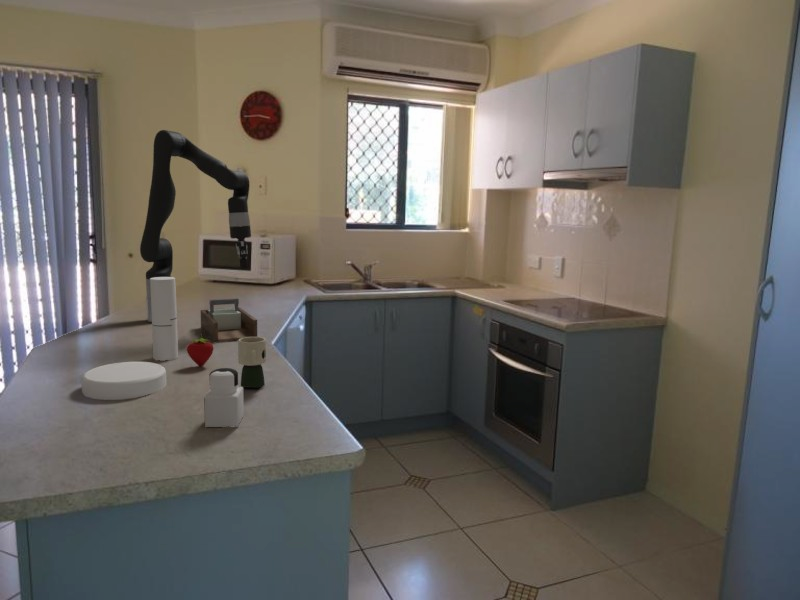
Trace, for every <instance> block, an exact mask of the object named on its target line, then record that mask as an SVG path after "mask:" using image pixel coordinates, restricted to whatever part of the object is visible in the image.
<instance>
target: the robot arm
mask: <svg viewBox="0 0 800 600" xmlns="http://www.w3.org/2000/svg"><path fill="white" fill-rule="evenodd" d="M154 136H155V137H154V138H153V139H154V140H153V156H152V157H153V158H152V161H153V162H152V174H151V184H150V189H149V197H148V205H147V212H146V213H147V214H146V218H145V219H146V220H145V224H144V229H143V233H142V235H141V236H142V238H141V241H140V245H139V246H140V247H139V253H140V257H141V258H142V260H143V261H145V262H147V263H153V264H152V266H151V267H150V268H149V269H148V270H147V271H146V272H145V285H146V286H145V288H146V290H145V291H146V297H145V301H146V320H147V322H148V323H152V312H151V288H150V278H154V277H171V274H172V272H173V265H174V264H173V259H174V253H173V246H172V244H171V242H170V241H169V240H168V239H166V238H163V237H161V233H162V230H163V227H164V225H165V224H166V222H167V221H168V219H169V218H170V216H171V214H172V212H173V210H174V208H175V203H176V202H175V201H176V194H177V193H176V192H177V191H176V186H175V183H174V181H173V177H172V174H171V160H172V157H179V158H182V159H185V160H187V161H190V162H191V163H192V164H194V166H195V167H196V168H197V169H198V170H199V171H201V172H202V173H203V174H205V175H207V176H208V177H210V178H211V179H214V180H215V181H216V182H217V183H218V184H219V185H220V186H221V187H223V188H225V189H226V190H230V191H233V193H232V196H231V197H229V198H228V200H227V207H228V208H227V210H228V225H229V237H230V239H232V240H233V239H236V240H237V241H236V243H235V247H236V251H237V252H236V253H237V257H238V258H239V268H240V269H241V270H248V259H247V258H248V242H247V241H246V240H245V239H248V238H249V239H250V238H251V237H252V233H251V232H252V231H251V230H252V229H251V219H250V215H249V207H248V206H249V205H248V199H249V193H250V179H249V176H248V175H247V174H246V173H245V172H244V171H242V170H240V171H239V170H232V169H230V168H228V166H227V164H225V163H224V162H223V161H221V159H220V160H219V158H217V157H214V156H212V155H211V154H209V153H207V152H205V151H204V150H202V149H201V148H199V146H197V145H195V144H194V143H193V142H192V141H191V140H189V139H188V138H187V137H186V136H185V135H183V134H182V133H180V132H177V131H172V130H167V129H162V130H161V129H160V130H159V131H158V132H157V133H156V134H155V135H154Z"/></svg>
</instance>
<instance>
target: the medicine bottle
mask: <svg viewBox="0 0 800 600" xmlns="http://www.w3.org/2000/svg"><path fill="white" fill-rule="evenodd" d="M203 400H204V401H203V403H204V406H203V407H204V427H205V428H206V427H222V428H229V427H228V426H238V425H240V424H239V423H241V422H240V421H242V420H243V418H242V417H244V415H245V414H244V412H245V410H244V409H245V408H244V387H242V386H239V372H238V370H236V369H234V368H232V367H231V368H230V367H221V368H216V369H213V370H212V371H211V372H209V390H208V391H207V393H206V394H205V395H204V397H203ZM241 419H242V420H241ZM226 426H227V427H226ZM238 427H239V426H238Z"/></svg>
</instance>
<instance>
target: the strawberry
mask: <svg viewBox="0 0 800 600" xmlns="http://www.w3.org/2000/svg"><path fill="white" fill-rule="evenodd" d="M200 335H201V338H199V339H192V342H190V343H189V344H188V345H187V347H186V351H187V352H186V353H187V355H188V357H190V359H191V360H192V361H193V362H194V363H195V365H197V366H198V367H203V366H204V365H205V364H206V363H207V362H208V361H209V359H210V358H211V357H212V355H213V352H214V349H215V348H214V345H213V344H212V343H211V342H210V341H211V340H210V339H209V340H208V339H205V338H203V336H202V334H200Z"/></svg>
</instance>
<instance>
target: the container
mask: <svg viewBox="0 0 800 600" xmlns="http://www.w3.org/2000/svg"><path fill="white" fill-rule="evenodd" d="M80 383H81V394H82V395H84V396H85V397H86V396H87V398H89V397H90V398H89V399H94V400H101V401H119V400H120V401H121V400H128V399H129V400H130V399H136V398H140V397H146V396H149V395H151V394H155V393H157V391H158V392H160V391H161V390H163V389H164V388H165V387H166V386H167V370H166V368H165V367H164V366H162V365H161V364H159V363H156V362H152V361H151V362H149V361H123V362H122V361H121V362H115V363H108V364H107V363H106V364H105V365H101V366H99V365H98V366H97V367H94V368H92V369H89V370H88V371H86V372H85V373H83V374H82V375H81V381H80ZM159 390H160V391H159ZM148 394H149V395H148ZM145 395H146V396H145Z"/></svg>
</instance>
